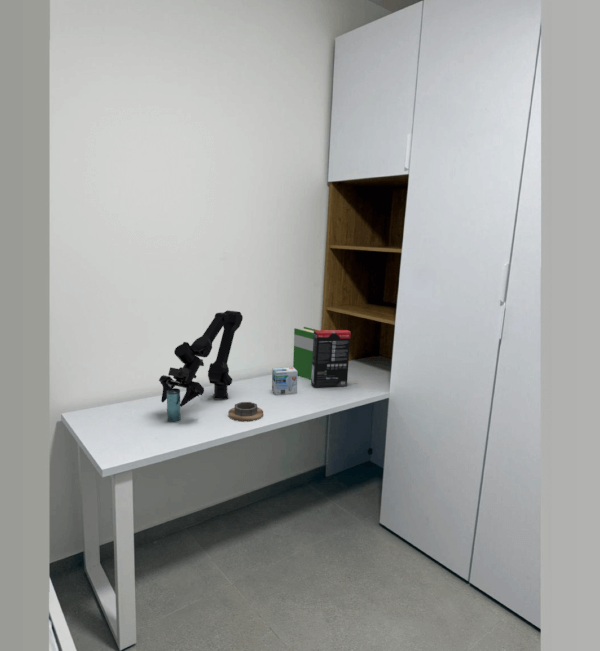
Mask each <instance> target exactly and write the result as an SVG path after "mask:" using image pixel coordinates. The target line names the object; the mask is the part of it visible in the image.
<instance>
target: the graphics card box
mask: <svg viewBox="0 0 600 651" xmlns="http://www.w3.org/2000/svg"><path fill="white" fill-rule="evenodd" d="M351 337H352V335H351V331H350V330H348V329H337V330H336V329H332V330H331V329H327V330H323V329H322V330H321V329H320V330H319V329H316V330H314V338H313V357H312V374H311V380H310V384H311V385H312V386H313V388H329V387H330V388H333V387H334V388H338V387H347V386H348V377H349V376H348V375H349V362H350V360H349V359H350V347H351V346H350V345H351Z"/></svg>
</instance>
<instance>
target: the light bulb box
mask: <svg viewBox="0 0 600 651" xmlns="http://www.w3.org/2000/svg"><path fill="white" fill-rule="evenodd" d="M271 372H272V376H271V379H272V380H271V391H272V392H273V394H274V395H275V396H278V395H279V396H280V395H293V394H294V395H295V394H297V393H298V371H297V370H296V369H295V368H294V367H293V366H292V367H278V368H276V367H275V368H272V371H271Z"/></svg>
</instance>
